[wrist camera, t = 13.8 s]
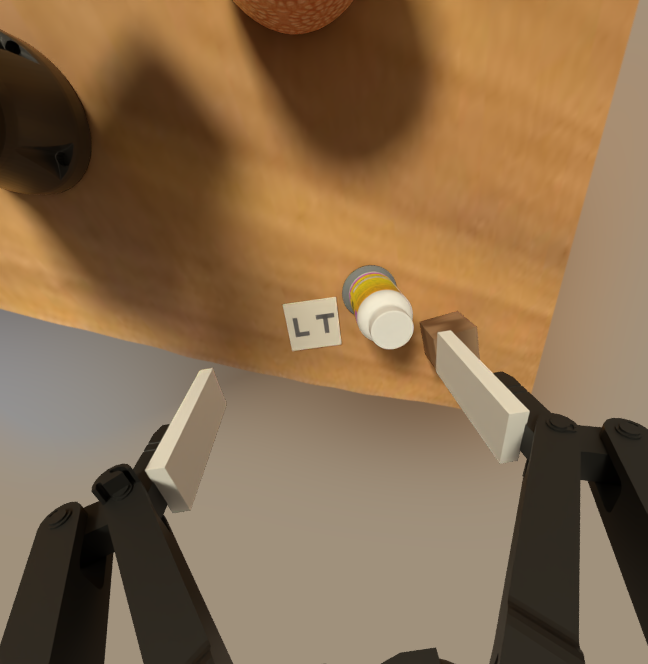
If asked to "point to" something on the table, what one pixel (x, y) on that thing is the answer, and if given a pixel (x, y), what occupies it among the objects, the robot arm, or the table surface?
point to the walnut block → (445, 323)
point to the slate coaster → (356, 274)
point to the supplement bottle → (381, 310)
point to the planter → (293, 13)
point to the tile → (313, 323)
